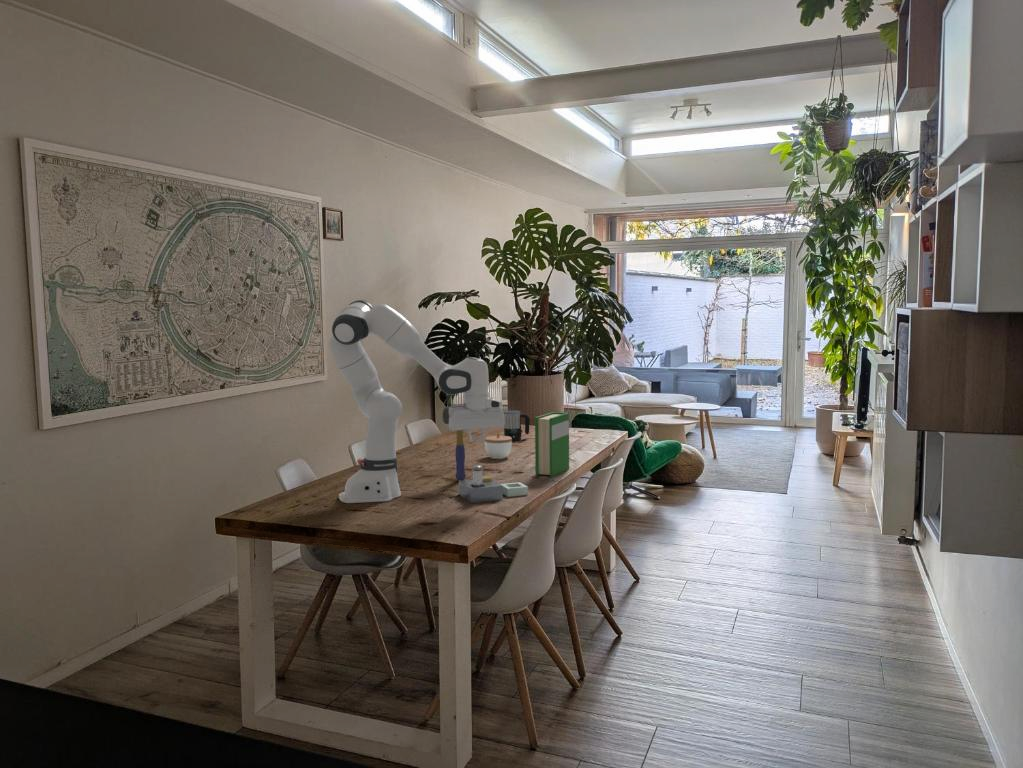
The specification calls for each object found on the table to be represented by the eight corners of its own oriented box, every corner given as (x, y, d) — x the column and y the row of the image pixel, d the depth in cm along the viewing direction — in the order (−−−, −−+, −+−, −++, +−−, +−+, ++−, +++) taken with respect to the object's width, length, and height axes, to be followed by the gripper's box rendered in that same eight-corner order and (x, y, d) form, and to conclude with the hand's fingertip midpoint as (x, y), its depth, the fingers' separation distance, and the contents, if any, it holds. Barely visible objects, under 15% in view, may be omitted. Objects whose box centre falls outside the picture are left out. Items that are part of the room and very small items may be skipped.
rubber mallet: (442, 482, 305) (441, 407, 302) (448, 478, 312) (447, 404, 309) (473, 483, 302) (471, 407, 299) (478, 479, 309) (477, 405, 306)
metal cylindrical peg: (474, 500, 275) (474, 467, 274) (471, 498, 278) (471, 465, 277) (484, 499, 276) (483, 466, 275) (481, 497, 279) (480, 465, 278)
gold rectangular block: (481, 495, 282) (480, 479, 282) (477, 492, 286) (477, 476, 286) (492, 494, 284) (492, 478, 283) (488, 491, 288) (488, 475, 287)
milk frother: (508, 441, 395) (508, 413, 394) (494, 437, 409) (494, 409, 408) (532, 439, 402) (532, 411, 401) (517, 435, 416) (517, 407, 414)
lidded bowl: (513, 455, 359) (513, 431, 358) (510, 460, 347) (510, 436, 346) (486, 454, 361) (486, 431, 360) (482, 460, 348) (482, 436, 347)
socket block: (470, 502, 272) (470, 488, 271) (459, 494, 285) (458, 480, 284) (502, 499, 276) (502, 485, 276) (489, 491, 289) (489, 477, 289)
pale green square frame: (507, 496, 280) (507, 488, 280) (500, 492, 287) (500, 484, 287) (528, 494, 283) (527, 486, 282) (520, 489, 290) (520, 482, 290)
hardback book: (552, 477, 312) (551, 418, 309) (535, 475, 315) (535, 417, 313) (569, 468, 327) (568, 412, 325) (553, 467, 331) (552, 411, 328)
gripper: (450, 405, 267) (451, 444, 268) (506, 402, 274) (506, 440, 276) (445, 403, 273) (446, 442, 274) (500, 400, 280) (500, 438, 282)
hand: (477, 441), depth 275 cm, fingers closed
